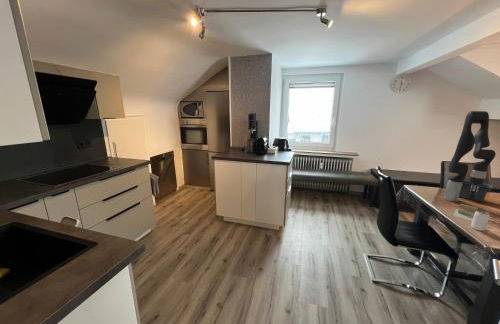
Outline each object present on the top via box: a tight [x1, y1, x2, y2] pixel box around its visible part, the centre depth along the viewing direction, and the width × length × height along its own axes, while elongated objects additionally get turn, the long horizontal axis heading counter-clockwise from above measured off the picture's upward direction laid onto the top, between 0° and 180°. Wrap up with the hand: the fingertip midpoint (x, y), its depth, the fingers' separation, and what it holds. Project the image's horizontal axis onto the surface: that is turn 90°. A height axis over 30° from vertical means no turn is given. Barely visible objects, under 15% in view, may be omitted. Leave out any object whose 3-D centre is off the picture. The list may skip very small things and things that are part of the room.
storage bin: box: [459, 179, 493, 203], centre depth 182 cm, size 21×16×14 cm
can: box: [470, 209, 490, 232], centre depth 134 cm, size 6×6×12 cm
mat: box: [452, 208, 473, 222], centre depth 152 cm, size 16×12×1 cm
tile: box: [458, 203, 479, 217], centre depth 152 cm, size 2×9×7 cm, turn 39°
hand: (471, 198), depth 154 cm, fingers closed
